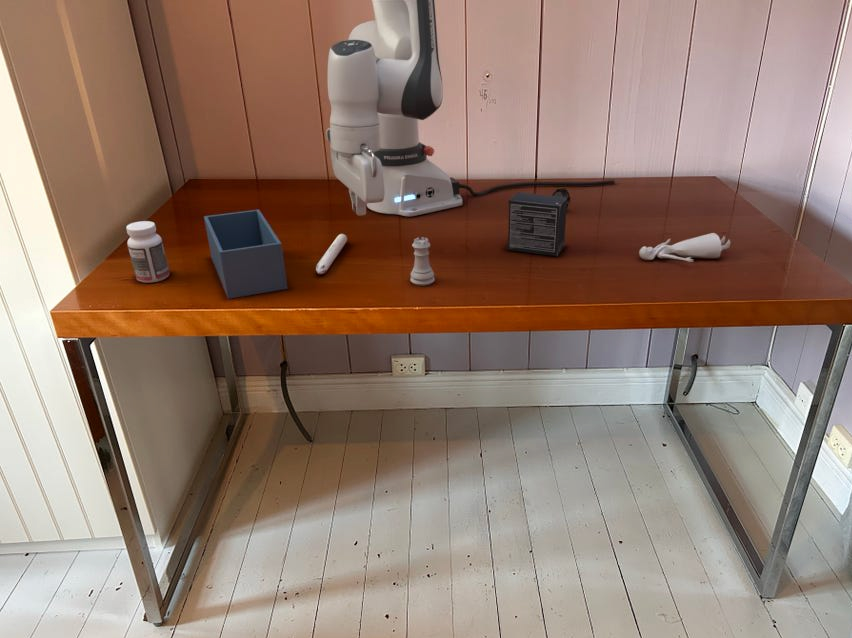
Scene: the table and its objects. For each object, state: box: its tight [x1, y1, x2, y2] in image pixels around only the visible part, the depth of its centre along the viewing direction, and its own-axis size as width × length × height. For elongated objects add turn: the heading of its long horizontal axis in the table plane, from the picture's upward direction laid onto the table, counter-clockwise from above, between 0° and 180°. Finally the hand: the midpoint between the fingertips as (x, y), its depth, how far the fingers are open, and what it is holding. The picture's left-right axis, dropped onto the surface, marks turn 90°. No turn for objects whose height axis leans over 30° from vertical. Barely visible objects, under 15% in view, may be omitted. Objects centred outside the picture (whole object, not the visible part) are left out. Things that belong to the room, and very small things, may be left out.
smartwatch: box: [551, 187, 571, 208], centre depth 166 cm, size 4×5×5 cm
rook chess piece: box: [409, 236, 435, 287], centre depth 129 cm, size 4×4×8 cm
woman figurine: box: [638, 232, 731, 263], centre depth 141 cm, size 12×4×18 cm
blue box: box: [203, 209, 288, 299], centre depth 132 cm, size 10×20×8 cm, turn 25°
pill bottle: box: [126, 220, 170, 284], centre depth 129 cm, size 6×6×10 cm
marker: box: [315, 233, 348, 275], centre depth 139 cm, size 18×2×2 cm, turn 176°
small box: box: [506, 191, 568, 257], centre depth 143 cm, size 11×6×10 cm, turn 71°
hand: (359, 213), depth 137 cm, fingers closed
